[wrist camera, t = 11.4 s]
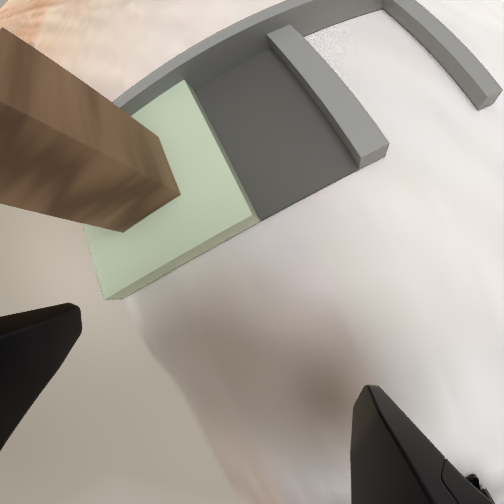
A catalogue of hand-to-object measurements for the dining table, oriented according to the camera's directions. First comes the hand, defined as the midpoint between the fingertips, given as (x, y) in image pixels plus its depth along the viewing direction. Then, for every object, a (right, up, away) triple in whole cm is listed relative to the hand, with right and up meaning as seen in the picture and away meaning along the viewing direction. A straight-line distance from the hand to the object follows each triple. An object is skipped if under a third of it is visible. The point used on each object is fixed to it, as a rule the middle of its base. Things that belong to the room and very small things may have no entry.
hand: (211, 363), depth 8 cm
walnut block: (-6, +8, +12) cm, 15 cm away
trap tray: (+3, +12, +12) cm, 17 cm away
